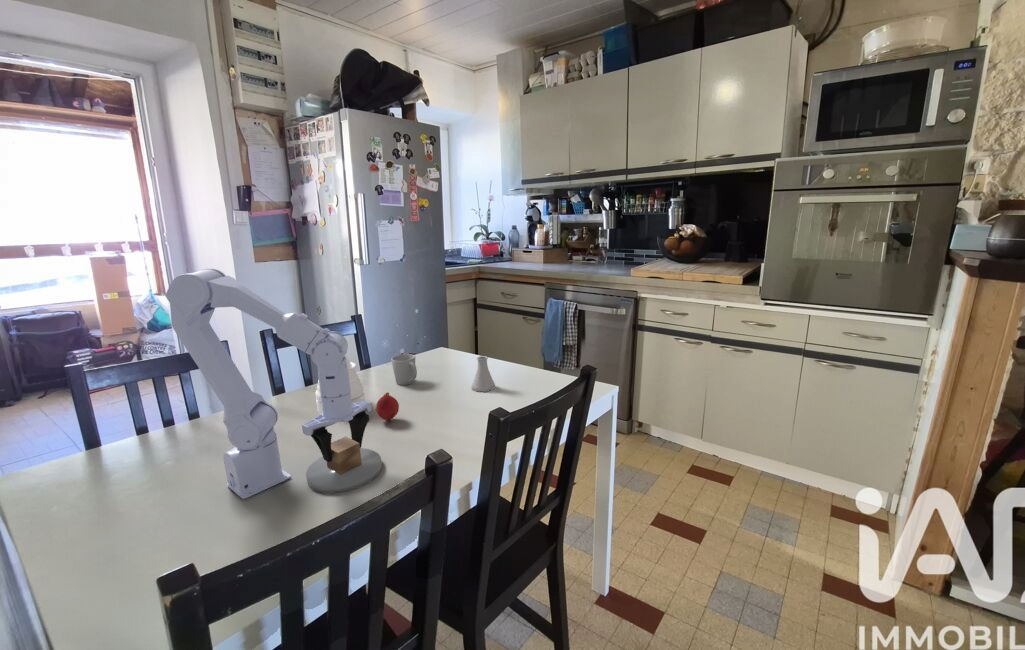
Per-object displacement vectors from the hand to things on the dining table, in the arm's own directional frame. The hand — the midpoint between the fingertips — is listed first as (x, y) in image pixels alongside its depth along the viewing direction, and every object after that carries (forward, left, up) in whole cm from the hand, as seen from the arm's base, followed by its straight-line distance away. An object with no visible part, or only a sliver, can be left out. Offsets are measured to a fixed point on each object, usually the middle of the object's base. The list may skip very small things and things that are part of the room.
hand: (343, 453), depth 97 cm
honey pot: (+19, +32, -5) cm, 38 cm away
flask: (+53, +8, -5) cm, 54 cm away
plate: (0, 0, -4) cm, 4 cm away
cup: (+42, +31, -5) cm, 52 cm away
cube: (0, 0, -3) cm, 3 cm away
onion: (+21, +13, -5) cm, 25 cm away
